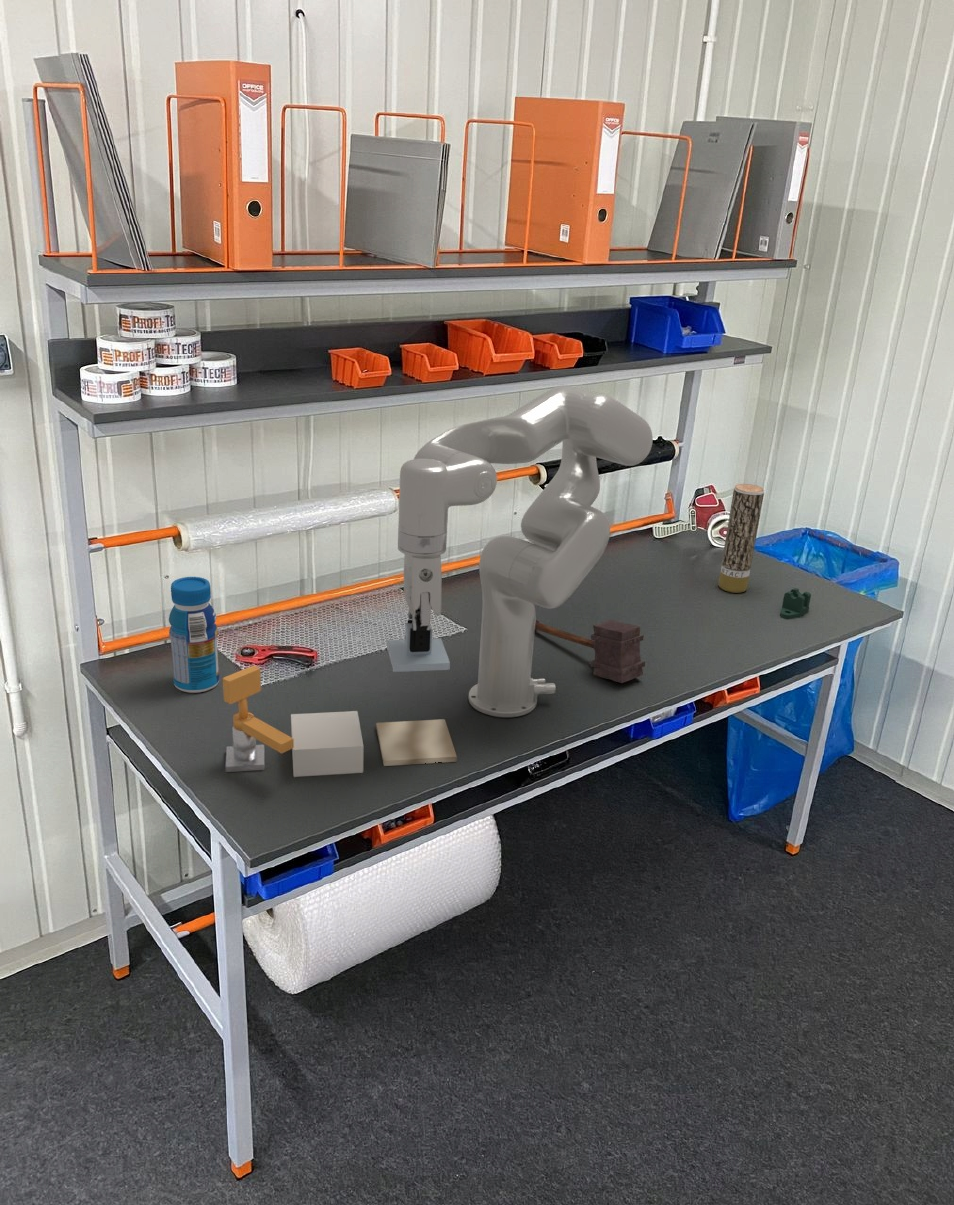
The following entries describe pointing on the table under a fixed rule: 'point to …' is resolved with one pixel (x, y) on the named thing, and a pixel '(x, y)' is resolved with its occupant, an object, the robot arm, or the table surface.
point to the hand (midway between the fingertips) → (418, 645)
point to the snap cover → (417, 654)
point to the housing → (326, 743)
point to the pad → (415, 742)
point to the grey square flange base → (244, 753)
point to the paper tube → (741, 537)
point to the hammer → (609, 649)
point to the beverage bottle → (193, 636)
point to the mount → (795, 604)
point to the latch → (239, 690)
